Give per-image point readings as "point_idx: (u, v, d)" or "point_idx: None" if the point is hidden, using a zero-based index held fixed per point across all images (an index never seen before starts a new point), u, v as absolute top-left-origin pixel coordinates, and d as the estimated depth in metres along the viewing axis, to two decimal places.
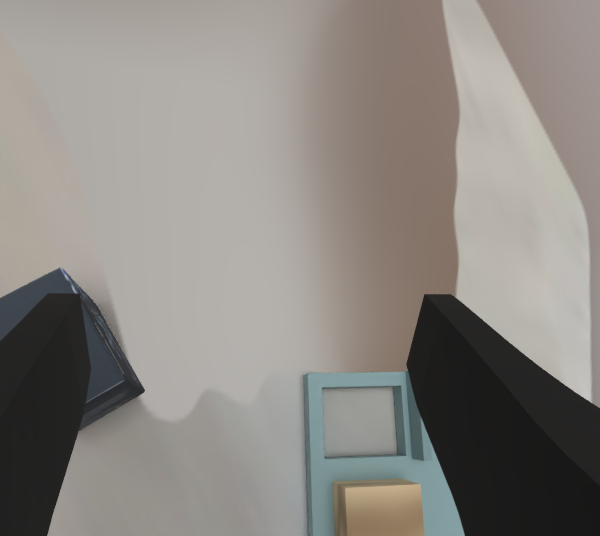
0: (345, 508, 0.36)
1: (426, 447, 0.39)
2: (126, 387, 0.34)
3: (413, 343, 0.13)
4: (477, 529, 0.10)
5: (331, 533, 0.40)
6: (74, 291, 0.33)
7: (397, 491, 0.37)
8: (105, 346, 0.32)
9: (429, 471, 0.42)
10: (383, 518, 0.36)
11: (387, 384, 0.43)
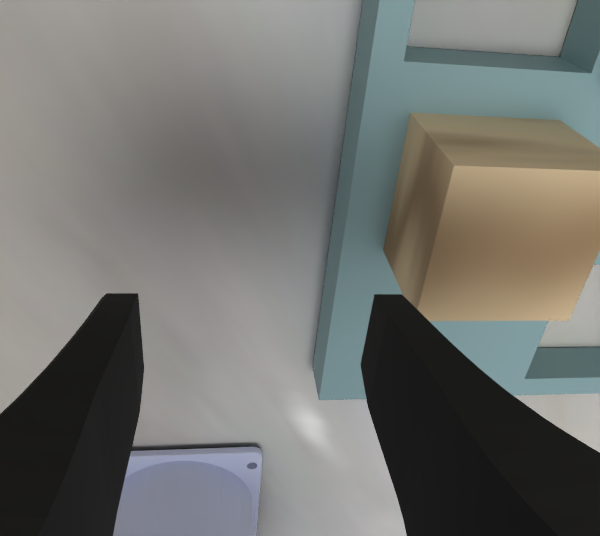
0: (440, 206, 0.15)
1: None
2: None
3: (365, 344, 0.13)
4: (417, 533, 0.10)
5: (384, 208, 0.20)
6: None
7: (573, 182, 0.15)
8: None
9: None
10: (520, 233, 0.16)
11: None
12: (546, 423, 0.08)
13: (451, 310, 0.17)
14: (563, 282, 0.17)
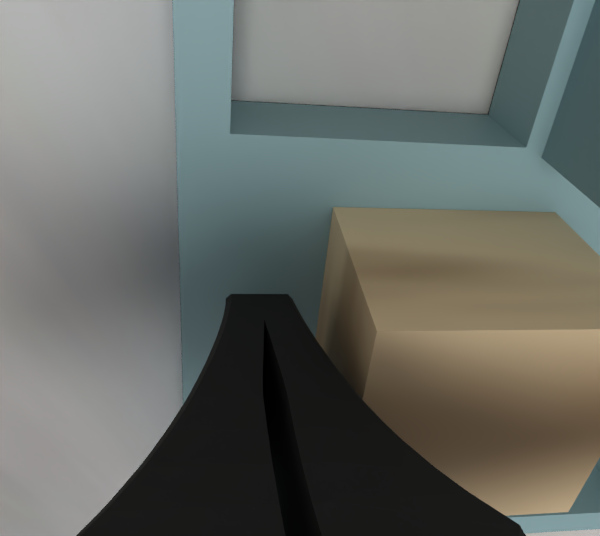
0: (362, 381, 0.10)
1: None
2: None
3: None
4: None
5: None
6: None
7: (575, 346, 0.09)
8: None
9: (580, 199, 0.13)
10: (491, 414, 0.10)
11: None
12: (383, 428, 0.08)
13: None
14: (559, 470, 0.11)
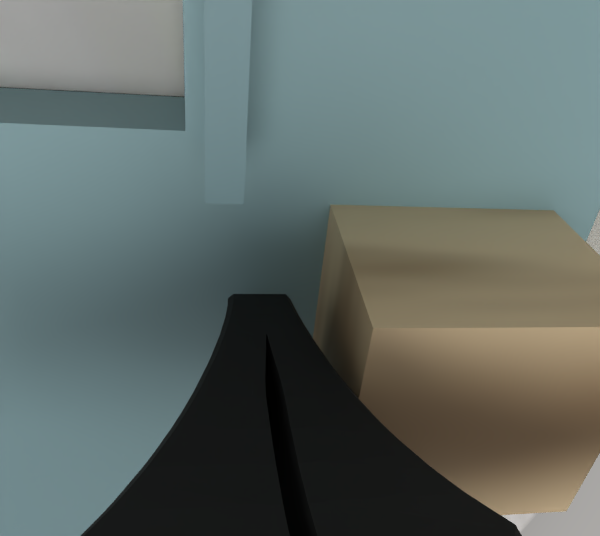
0: (359, 379, 0.09)
1: (221, 150, 0.08)
2: None
3: None
4: None
5: None
6: None
7: (573, 343, 0.09)
8: None
9: (270, 188, 0.12)
10: (489, 413, 0.10)
11: None
12: (380, 428, 0.08)
13: None
14: (557, 469, 0.11)
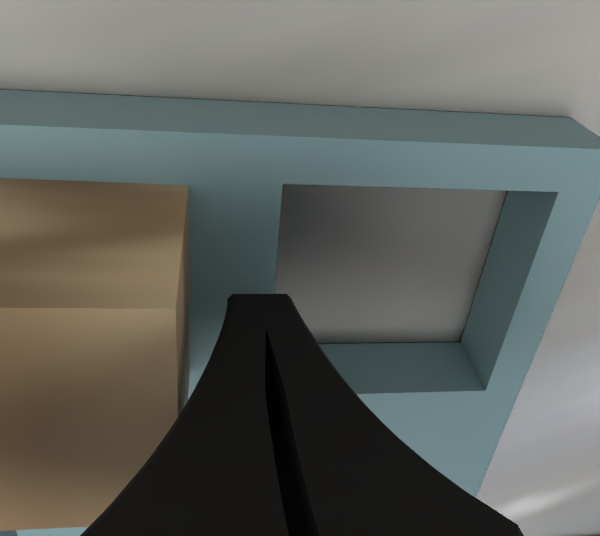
0: None
1: None
2: None
3: None
4: None
5: None
6: None
7: None
8: None
9: None
10: None
11: None
12: (382, 428, 0.08)
13: None
14: (74, 348, 0.08)
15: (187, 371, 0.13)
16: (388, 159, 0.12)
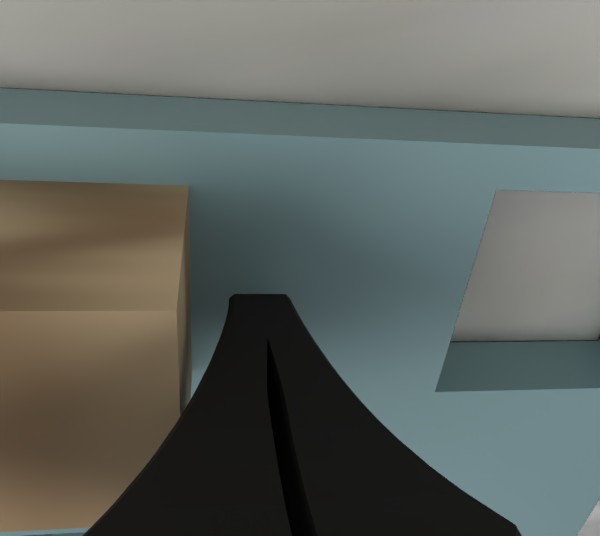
0: None
1: None
2: None
3: None
4: None
5: None
6: None
7: None
8: None
9: None
10: None
11: None
12: (380, 428, 0.08)
13: None
14: (75, 350, 0.08)
15: (189, 371, 0.13)
16: (597, 166, 0.12)
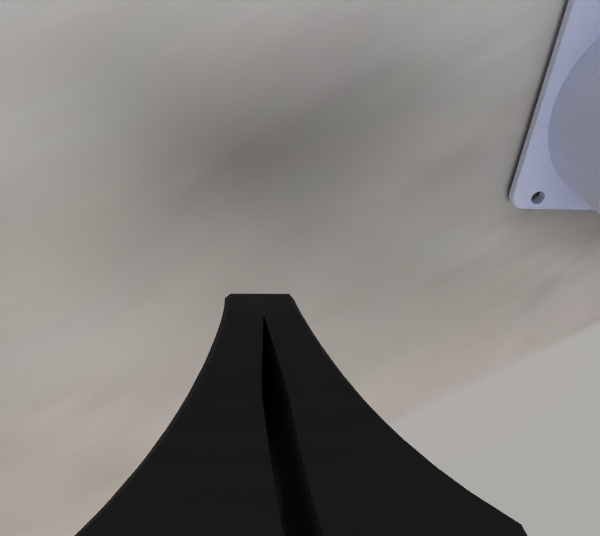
0: None
1: None
2: None
3: None
4: None
5: None
6: None
7: None
8: None
9: None
10: None
11: None
12: (385, 428, 0.08)
13: None
14: None
15: None
16: None
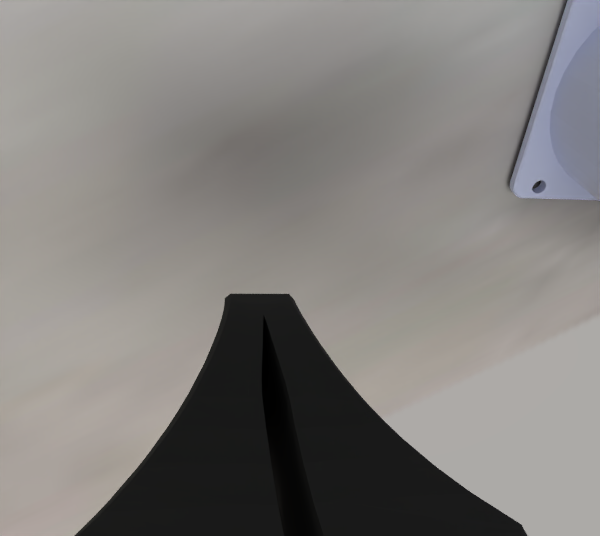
0: None
1: None
2: None
3: None
4: None
5: None
6: None
7: None
8: None
9: None
10: None
11: None
12: (384, 428, 0.08)
13: None
14: None
15: None
16: None
